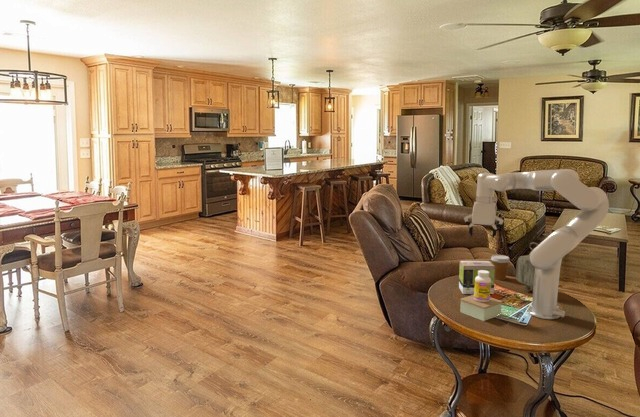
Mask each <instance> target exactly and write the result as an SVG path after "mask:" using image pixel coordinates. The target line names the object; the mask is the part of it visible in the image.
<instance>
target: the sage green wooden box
mask: <svg viewBox="0 0 640 417" xmlns="http://www.w3.org/2000/svg"><path fill="white" fill-rule="evenodd" d="M459 300H460V306H459V307H460V309H459V310H460V312H459V313H462V314H464V315H467V316H469V317H471V318H472V317H473V318H475V319H477V320H480V321H482V322H485V321H488V320H490V319H493V318H496V317H498V316H497V315H498V314H500V313H501V314H502V304H503V300H500V299H496V298H493V297H491V296H490V301H489V302H478V301H476V300H475V299H474V294H470V295H468V296H465V297H462V298H460V299H459Z"/></svg>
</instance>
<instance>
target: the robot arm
mask: <svg viewBox="0 0 640 417" xmlns="http://www.w3.org/2000/svg"><path fill="white" fill-rule="evenodd" d="M476 179H477V183H476V194H475V196H476V198H475V201H474V202H473V207H472V213H470V214H469V215H466V216H464V217H463V220H464V222H465V224H466V225H467V226H468V228H469V230H468V232H469V235H470V237H473V235H474V234H473V233H474V232H473V231H474V226H475V225H481V226H482V225H483V226H491V227H492V236H491V237H492V239H495V237H496V236H497V230H498V229H499V228H500V227H501V226H502V225H503V224H504V219H502V218H501V217H499V216H497V215H496V211H497V210H496V203H495V202H497V200H498V198H496V197H495V196H494V195H495V191H496V192H497V191H498V192H504V191H509V190H520V189H521V190H525V189H527V190H533V191H539V192H541V191H556V192H557V193H558V194H559V195H560V196H562V197H563V198H564V199H566V200H567V201H569V203H571V204H572V205H573V206H575V207H576V208H577V209H579V210H580V211H579V212H578V213H576V214H575V215H574V216H573V217H572V219H570V220H569V221H568V222H567V223H566V224H564V225H563V226H561V227H559V228H558V229H556V230H554V231H552V233H550V234H549V235H548V236H547V237H545V239H544V240H542V241H541V242H540V243H538V244H539V245H536V247H534V248H532V249H533V250H531V251H530V252H531V254H530V253H529V254H530V261H531V263H532V265H533V266H534V267H535V274H534V287H533V289H532V301H531V302H532V303H531V306H529V307H528V308H527V313H528V312H529V313H530V314H529V313H528V314H529V315H530V316H533V317H536V318H538V319H542V320H543V319H544V320H555V319H559V318H564V317H565V316H566V311H564V310H561V309H560V306H559V305H558V295H559V283H560V282H559V281H560V273H561V266H562V260H563V258H564V257H565V256H566V255H568V253H570V252H571V251H572V250H574V249H575V248H576V247H577V246H578V245H579V244H580V243H581V242H582V241H583V240H584V239H585V238H586V237H587V236H589V235H590V234H592V232H593V231H594V230H596V228H597V227H598V226H599V225H601V224H602V222H603V221H604V220H605V218H606V217H607V215H608V212H609V206H610V203H609V198H608V195H607V194H606V192H605V191H604V190H603V189H602V188H600V187H596V186H591V187H588V185H587V184H584V183H583V182H582V181H580V176H579V174H578V172H577V171H575V170H574V169H570V168H563V169H562V168H560V169H546V170H545V169H543V170H541V169H540V170H532V171H521V172H520V171H519V172H504V173H501V174H500V173H499V174H494V173H492V172H481V173H479V174H478V175H477V178H476ZM469 219H471V222H470V220H469ZM496 221H498V224H496Z"/></svg>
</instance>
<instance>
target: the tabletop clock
mask: <svg viewBox="0 0 640 417" xmlns="http://www.w3.org/2000/svg"><path fill="white" fill-rule="evenodd" d="M539 244H540V243H537V242H534V241H533V242H530V243H529V246H528V247H529V249H530V250H531V251H530V252H529V254H527V255H521V256H519V257H518V258H517V260H516V267H515V279H516V281H517V282H519V283H521V284H522V285H525V288H527V289H526V292H527V293H530V292H531V290H530V288H533V287H534V274H535V267H534V266H533V265H532V263H531V261H530V254H531V252H532V250H533V249H534V248H532V247H531V245H536V246H538V245H539Z"/></svg>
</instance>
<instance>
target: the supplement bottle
mask: <svg viewBox="0 0 640 417" xmlns="http://www.w3.org/2000/svg"><path fill="white" fill-rule="evenodd" d="M490 292H491V278H490V277H489V271H486V270H479V271H478V276H477V277H476V278H475V288H474V294H473V295H474V299H475V300H476V301H478V302H489V301H490V297H491V295H490Z"/></svg>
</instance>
